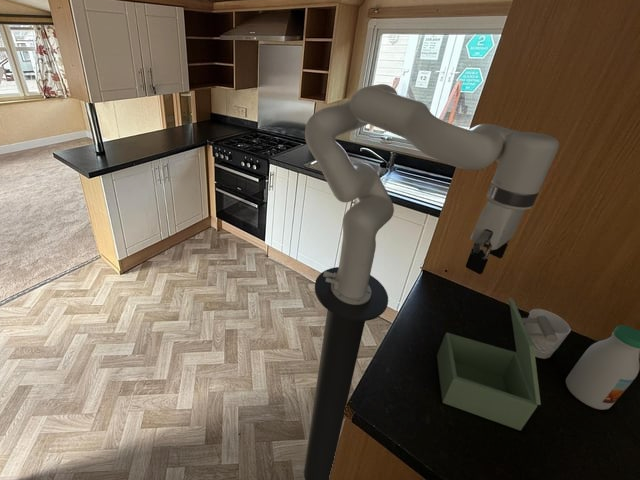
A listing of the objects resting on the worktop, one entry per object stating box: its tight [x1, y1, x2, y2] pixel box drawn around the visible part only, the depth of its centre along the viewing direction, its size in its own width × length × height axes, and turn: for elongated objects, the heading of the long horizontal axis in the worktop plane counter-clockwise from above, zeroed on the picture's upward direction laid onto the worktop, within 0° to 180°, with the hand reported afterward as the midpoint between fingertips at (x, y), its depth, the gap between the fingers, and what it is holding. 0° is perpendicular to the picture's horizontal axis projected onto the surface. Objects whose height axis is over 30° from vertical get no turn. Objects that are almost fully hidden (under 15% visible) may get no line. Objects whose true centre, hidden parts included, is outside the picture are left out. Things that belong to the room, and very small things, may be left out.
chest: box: [436, 332, 538, 432], centre depth 71 cm, size 15×13×9 cm
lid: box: [508, 297, 558, 406], centre depth 63 cm, size 15×13×5 cm
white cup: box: [524, 308, 572, 360], centre depth 81 cm, size 8×8×10 cm
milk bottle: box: [565, 324, 640, 411], centre depth 68 cm, size 8×8×20 cm
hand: (483, 262), depth 70 cm, fingers open, 9 cm apart
